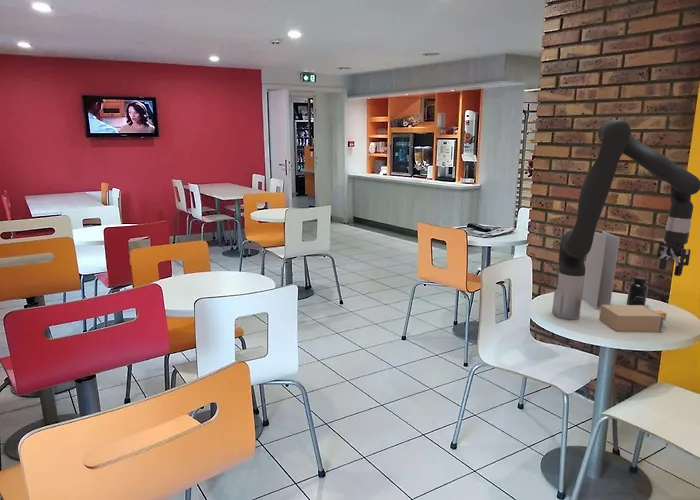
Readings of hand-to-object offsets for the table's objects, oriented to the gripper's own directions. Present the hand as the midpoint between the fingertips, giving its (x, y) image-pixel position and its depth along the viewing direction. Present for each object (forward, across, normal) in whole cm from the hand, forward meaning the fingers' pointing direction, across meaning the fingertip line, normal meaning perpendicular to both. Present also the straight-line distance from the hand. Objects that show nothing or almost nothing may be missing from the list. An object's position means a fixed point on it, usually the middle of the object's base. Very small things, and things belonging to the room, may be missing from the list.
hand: (669, 272), depth 191 cm
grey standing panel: (+20, -22, -14) cm, 33 cm away
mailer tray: (+20, +3, -11) cm, 23 cm away
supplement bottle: (+20, -21, +3) cm, 29 cm away
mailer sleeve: (+20, +2, -14) cm, 25 cm away
